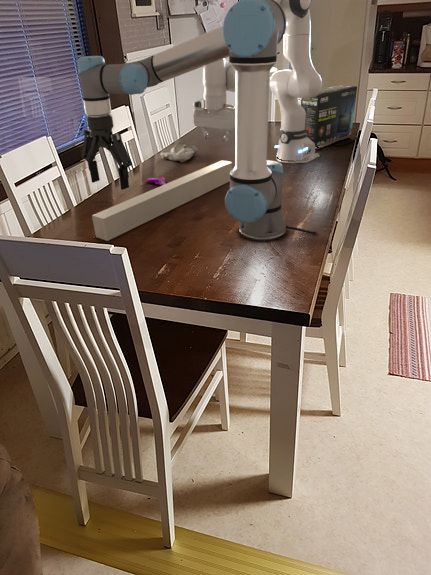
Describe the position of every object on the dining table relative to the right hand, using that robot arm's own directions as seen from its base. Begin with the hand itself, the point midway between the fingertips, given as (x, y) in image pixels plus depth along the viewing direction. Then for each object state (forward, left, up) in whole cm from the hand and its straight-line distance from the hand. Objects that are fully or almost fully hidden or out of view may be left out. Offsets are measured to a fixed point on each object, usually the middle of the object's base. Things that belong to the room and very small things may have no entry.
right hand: (216, 139), depth 184 cm
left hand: (+56, +12, -2) cm, 58 cm away
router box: (-84, -7, -18) cm, 86 cm away
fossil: (-13, -44, -18) cm, 49 cm away
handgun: (+20, -14, -18) cm, 31 cm away
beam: (+28, +6, -18) cm, 34 cm away
